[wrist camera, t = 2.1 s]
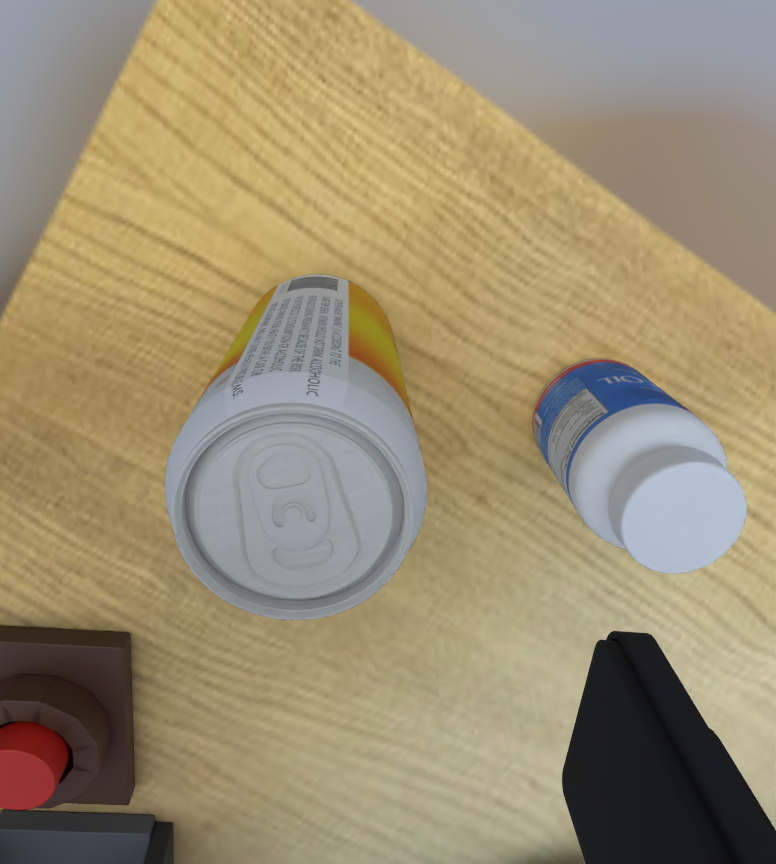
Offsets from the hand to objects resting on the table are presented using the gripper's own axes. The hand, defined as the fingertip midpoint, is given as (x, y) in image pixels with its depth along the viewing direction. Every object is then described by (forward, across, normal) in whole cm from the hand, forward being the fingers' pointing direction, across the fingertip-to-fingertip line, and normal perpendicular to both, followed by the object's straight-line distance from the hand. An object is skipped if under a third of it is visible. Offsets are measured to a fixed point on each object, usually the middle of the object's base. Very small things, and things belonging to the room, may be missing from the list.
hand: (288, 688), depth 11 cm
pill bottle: (+21, -12, +2) cm, 24 cm away
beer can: (+20, 0, 0) cm, 20 cm away
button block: (+20, +12, +20) cm, 31 cm away
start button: (+18, +12, +20) cm, 29 cm away
